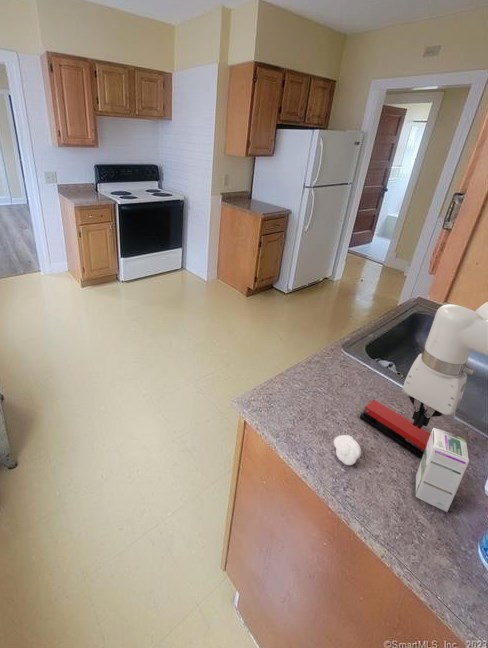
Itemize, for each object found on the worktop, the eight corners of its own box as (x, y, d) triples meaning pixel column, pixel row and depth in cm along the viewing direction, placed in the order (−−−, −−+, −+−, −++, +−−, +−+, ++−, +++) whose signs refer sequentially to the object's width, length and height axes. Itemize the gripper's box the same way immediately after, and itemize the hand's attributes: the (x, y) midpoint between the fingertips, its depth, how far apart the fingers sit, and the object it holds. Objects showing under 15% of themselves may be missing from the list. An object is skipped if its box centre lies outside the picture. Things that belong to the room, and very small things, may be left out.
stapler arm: (435, 443, 76) (437, 437, 75) (427, 453, 73) (430, 447, 73) (371, 404, 87) (373, 398, 86) (363, 411, 84) (365, 406, 84)
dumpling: (364, 466, 73) (366, 457, 71) (342, 471, 73) (344, 462, 71) (348, 436, 79) (350, 427, 77) (328, 441, 79) (329, 432, 76)
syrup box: (448, 513, 64) (472, 461, 58) (413, 497, 67) (433, 446, 61) (446, 489, 68) (468, 439, 63) (413, 474, 71) (432, 425, 66)
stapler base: (434, 451, 77) (437, 445, 76) (426, 463, 74) (429, 456, 73) (368, 409, 88) (370, 403, 88) (359, 418, 86) (361, 412, 85)
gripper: (491, 372, 66) (461, 438, 73) (412, 338, 77) (393, 398, 83) (480, 388, 61) (450, 456, 68) (398, 349, 72) (379, 411, 79)
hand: (418, 424), depth 76 cm, fingers closed
